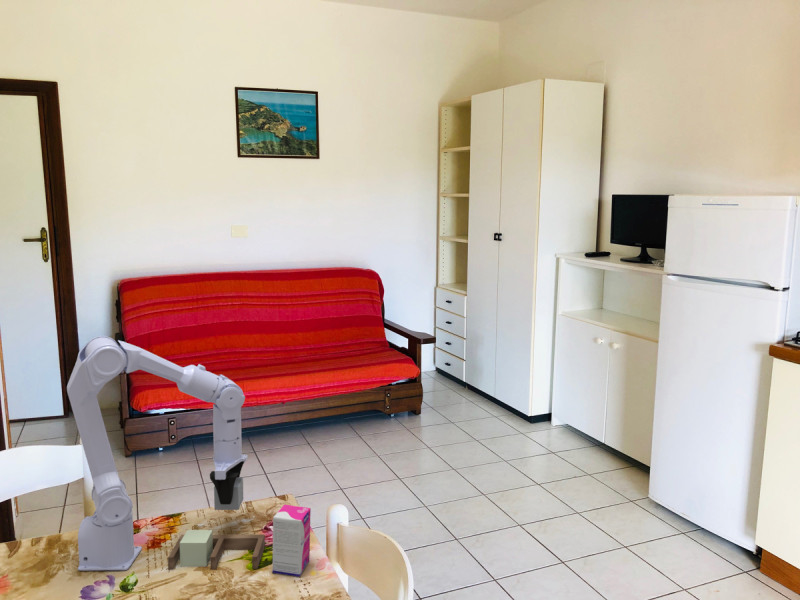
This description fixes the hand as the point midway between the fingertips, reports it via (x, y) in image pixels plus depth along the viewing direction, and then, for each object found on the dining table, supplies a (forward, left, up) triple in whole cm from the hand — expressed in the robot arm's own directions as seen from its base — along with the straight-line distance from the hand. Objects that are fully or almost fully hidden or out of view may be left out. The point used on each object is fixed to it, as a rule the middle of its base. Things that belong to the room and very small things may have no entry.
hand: (228, 497), depth 137 cm
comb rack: (0, -11, -8) cm, 13 cm away
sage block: (-4, -11, -8) cm, 14 cm away
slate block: (0, 0, -2) cm, 2 cm away
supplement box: (+15, -14, -8) cm, 22 cm away
